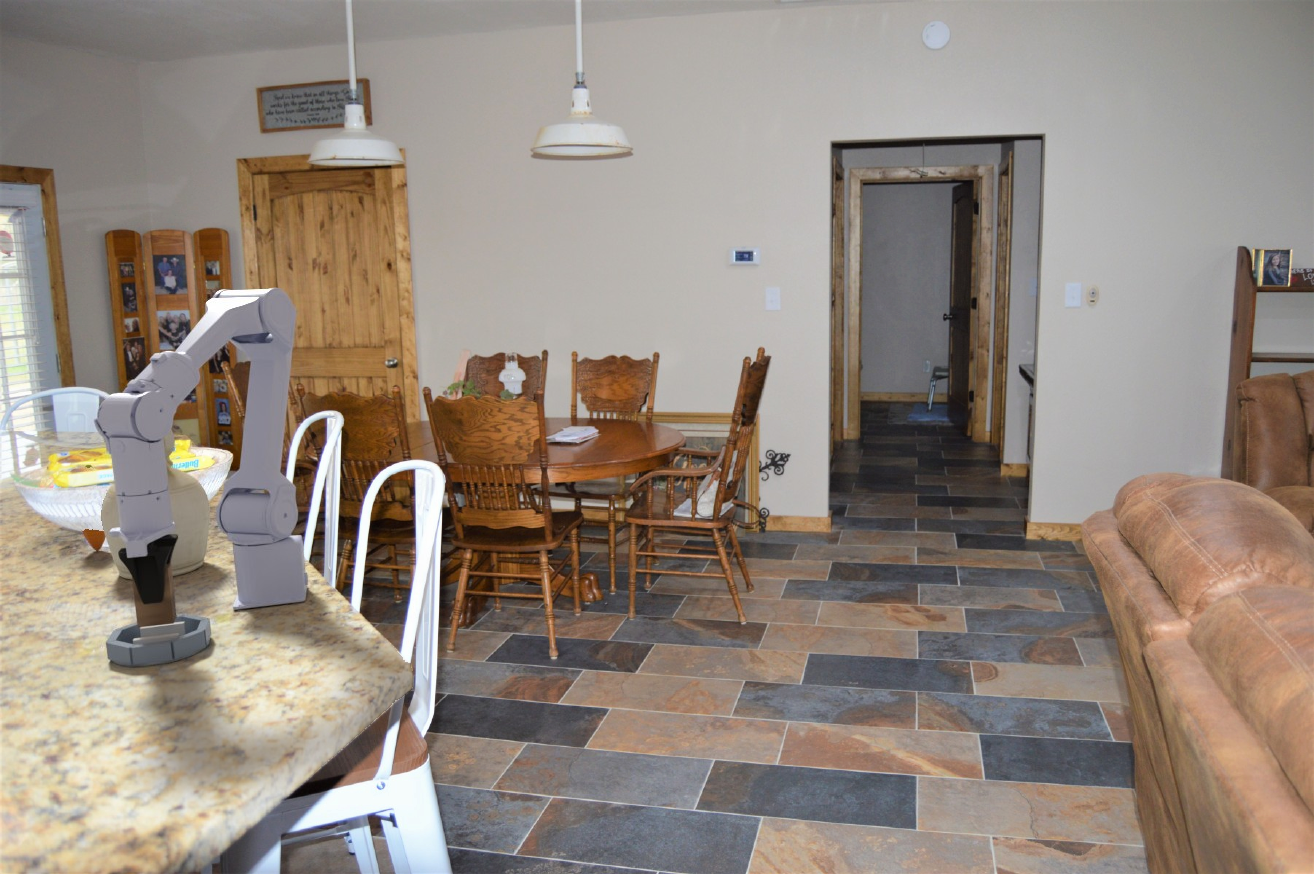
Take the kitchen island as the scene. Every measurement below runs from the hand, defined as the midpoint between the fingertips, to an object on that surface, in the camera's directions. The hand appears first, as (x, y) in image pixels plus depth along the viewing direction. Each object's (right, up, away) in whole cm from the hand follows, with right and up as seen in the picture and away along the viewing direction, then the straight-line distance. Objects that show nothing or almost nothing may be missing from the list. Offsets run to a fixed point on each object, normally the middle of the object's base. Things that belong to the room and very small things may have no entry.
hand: (155, 598), depth 120 cm
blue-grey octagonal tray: (0, -6, +1) cm, 6 cm away
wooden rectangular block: (0, -3, 0) cm, 3 cm away
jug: (-17, -1, +36) cm, 40 cm away
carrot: (-35, 0, +48) cm, 60 cm away
